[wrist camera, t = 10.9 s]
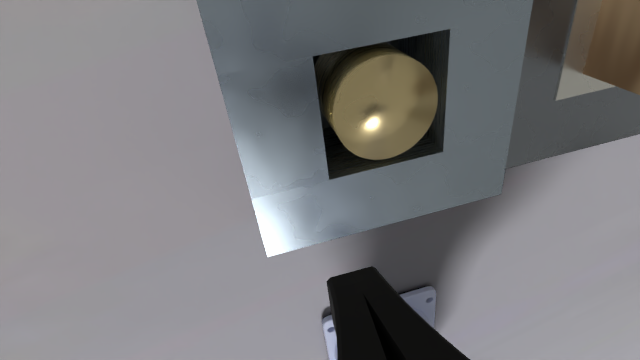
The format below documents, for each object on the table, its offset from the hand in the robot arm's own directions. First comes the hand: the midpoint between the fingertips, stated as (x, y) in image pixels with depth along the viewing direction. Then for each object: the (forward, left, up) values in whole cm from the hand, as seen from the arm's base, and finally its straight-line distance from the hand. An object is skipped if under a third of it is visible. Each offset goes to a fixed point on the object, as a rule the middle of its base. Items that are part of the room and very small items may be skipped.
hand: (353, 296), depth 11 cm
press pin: (+4, -3, -7) cm, 8 cm away
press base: (+4, -11, -9) cm, 15 cm away
